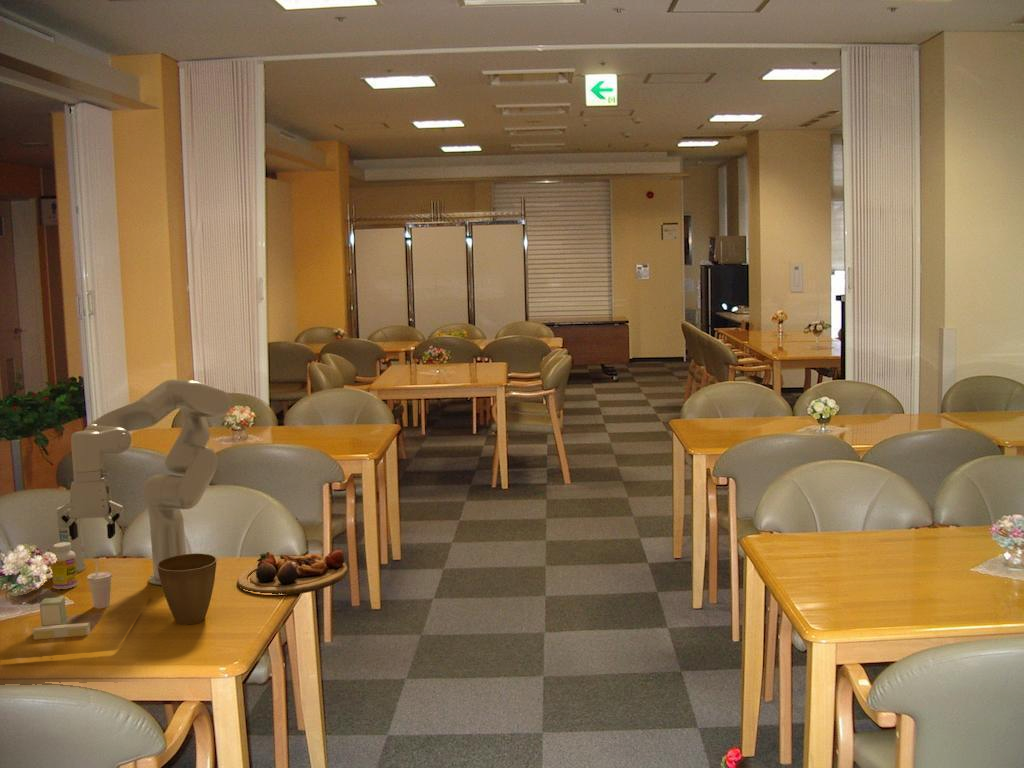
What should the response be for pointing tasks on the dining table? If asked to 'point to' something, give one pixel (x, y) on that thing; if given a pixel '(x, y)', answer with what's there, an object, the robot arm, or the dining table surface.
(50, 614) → the tea box
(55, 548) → the supplement bottle
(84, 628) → the rail
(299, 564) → the wooden plate with food
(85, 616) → the shelf board
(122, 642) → the dining table surface
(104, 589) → the smoothie
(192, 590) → the plant pot
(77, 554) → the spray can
